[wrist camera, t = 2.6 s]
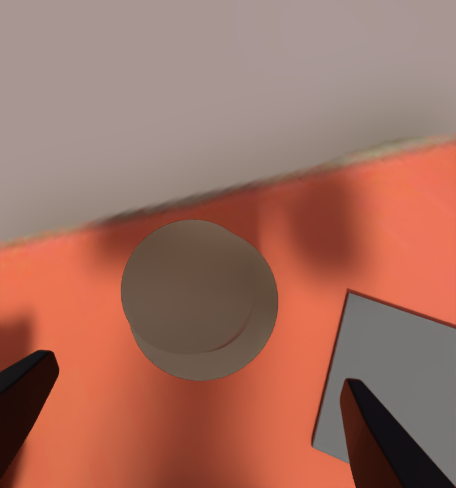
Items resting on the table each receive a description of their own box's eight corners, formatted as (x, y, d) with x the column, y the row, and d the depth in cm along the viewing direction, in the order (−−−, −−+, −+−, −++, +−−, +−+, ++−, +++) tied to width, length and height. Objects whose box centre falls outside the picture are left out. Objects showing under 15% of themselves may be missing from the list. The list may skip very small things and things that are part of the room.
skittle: (247, 377, 17) (251, 436, 6) (171, 346, 18) (48, 344, 7) (273, 298, 19) (315, 224, 7) (202, 272, 20) (143, 171, 8)
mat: (488, 523, 14) (493, 527, 14) (311, 445, 16) (312, 447, 15) (499, 345, 17) (503, 345, 17) (347, 293, 18) (349, 292, 18)
